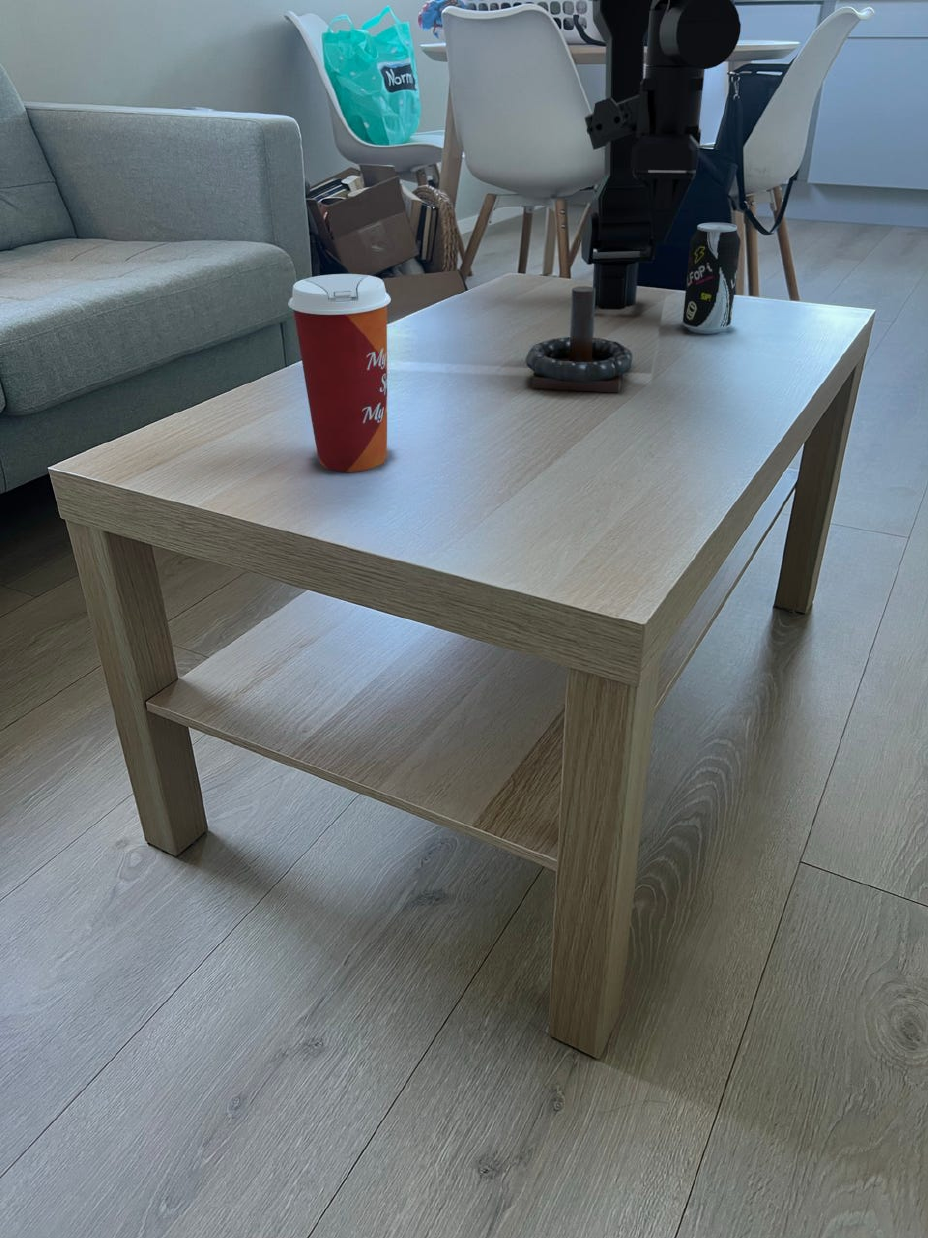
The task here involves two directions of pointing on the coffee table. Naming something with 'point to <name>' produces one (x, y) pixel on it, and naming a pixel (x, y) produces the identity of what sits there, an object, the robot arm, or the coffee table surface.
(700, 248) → the beverage can
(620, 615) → the coffee table surface
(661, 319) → the coffee table surface
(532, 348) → the ring
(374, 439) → the coffee cup
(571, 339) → the peg stand
